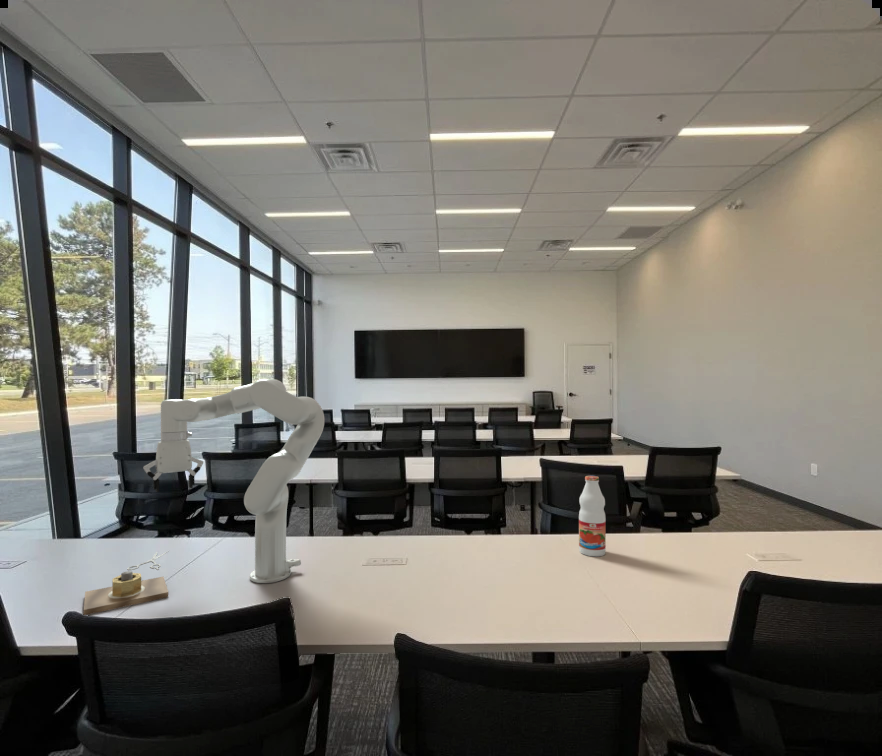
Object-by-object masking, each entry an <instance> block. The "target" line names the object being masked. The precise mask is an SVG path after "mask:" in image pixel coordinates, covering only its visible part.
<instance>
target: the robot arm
mask: <svg viewBox="0 0 882 756" xmlns="http://www.w3.org/2000/svg"><path fill="white" fill-rule="evenodd" d="M259 409H261V410H263V411H265V412H266V413H268V414H269V415H270V414H271V415H272V416H274V417H275V418H277V419H279V420H281V421H283V422H285V423H286V424H289V425H296V426H295V429H294V430H293V431H292V433H291V434H290V436H288V438H287V440H286V442H285V444H284V445H283V447H282V448H281V449H280V450H279V451H278V452H277V453H274V454H272V455H271V456H268V458H267V459H265V461H264V462H263V463H262V465H261V466H260V468H259V469H258V471H257V473H256V474H255V476H254V477H253V480H251V482H250V485H248V487H247V489H246V491H245V494H244V496H243V504H244V507H245V509H246V510H247V511H248V512H249V513H250V514H252V515H254V516H255V522H254V523H255V527H254V532H255V533H254V535H255V536H254V570H253V571H251V572H250V574H249V580H250V581H251V582H253V583H256V584H271V583H272V584H273V583H277V582H280V581H283V580H286V579H287V578H289V577H290V576H291V573H292V567H298V566H301V565H302V561H301V559H299V558H298V559H295V558H291V559H288V558H287V511H288V510H287V509H288V503H289V488H288V483H289V482H290V481H291V480H293V479H294V478H296V477H297V476H298V475H299V474H300V472H301V470H302V469H303V467H304V465H305V464H306V463H307V460H308V459H309V457H310V455H311V453H312V452H313V450H314V448H315V446H316V445H317V443H318V442H319V439H320V437H321V435H322V433H323V431H324V428H325V414H324V410H323V408H322V407H321V405H320V403H319V402H318V401H317V400H315V399H314V398H313V397H309V396H295V395H294V394H292V393H289V392H288V391H287V388H286V385H285V384H284V383H283V382H282V381H280V380H278V379H276V378H275V379H274V378H261V379H257V380H256V381H254V382H253V383H249V384H246V385H242V386H241V385H240V386H235V387H233V388H232V389H231V390H230V391H229V392H226V393H222V394H218V395H215V396H210V397H200V398H199V397H197V398H189V399H188V398H187V399H179V398H178V399H177V398H175V399H171V398H170V399H163V400H161V403H160V441H158V442H157V447H156V455H155V460H153V461H151V462H148V464H145V465H143V470H144V472H145V473H146V475H147V476H148V477H149V478H150V479H152V480H153V481H152V482H153V487H152V488H153V491H154V490H155V492H156V493H159V492H160V479H159V477H161V475H162V474H169V473H170V474H171V473H179V472H188V473H189V474H188V488H190V489H193V486H195V483H196V482H195V476H196V475H197V473H198V472H199V471H200V470H201V468H202V466H203V464H204V461H203V460H201V459H198V458H196V457H193V456H192V448H191V447H192V446H191V443H190V440H189V439H188V438H190V437H192V436H193V433H192V432H189V431H188V423H196V422H202V421H209V420H213V419H218V418H222V417H226V416H231V415H234V414H235V415H236V414H237V415H238V414H242V413H247V412H251V411H254V410H259ZM193 463H196V464H197V465H196V467H195V468H194V469H192V466H193ZM153 467H155V470H156V471H155V473H153V472H152V471H151V468H153Z"/></svg>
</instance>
